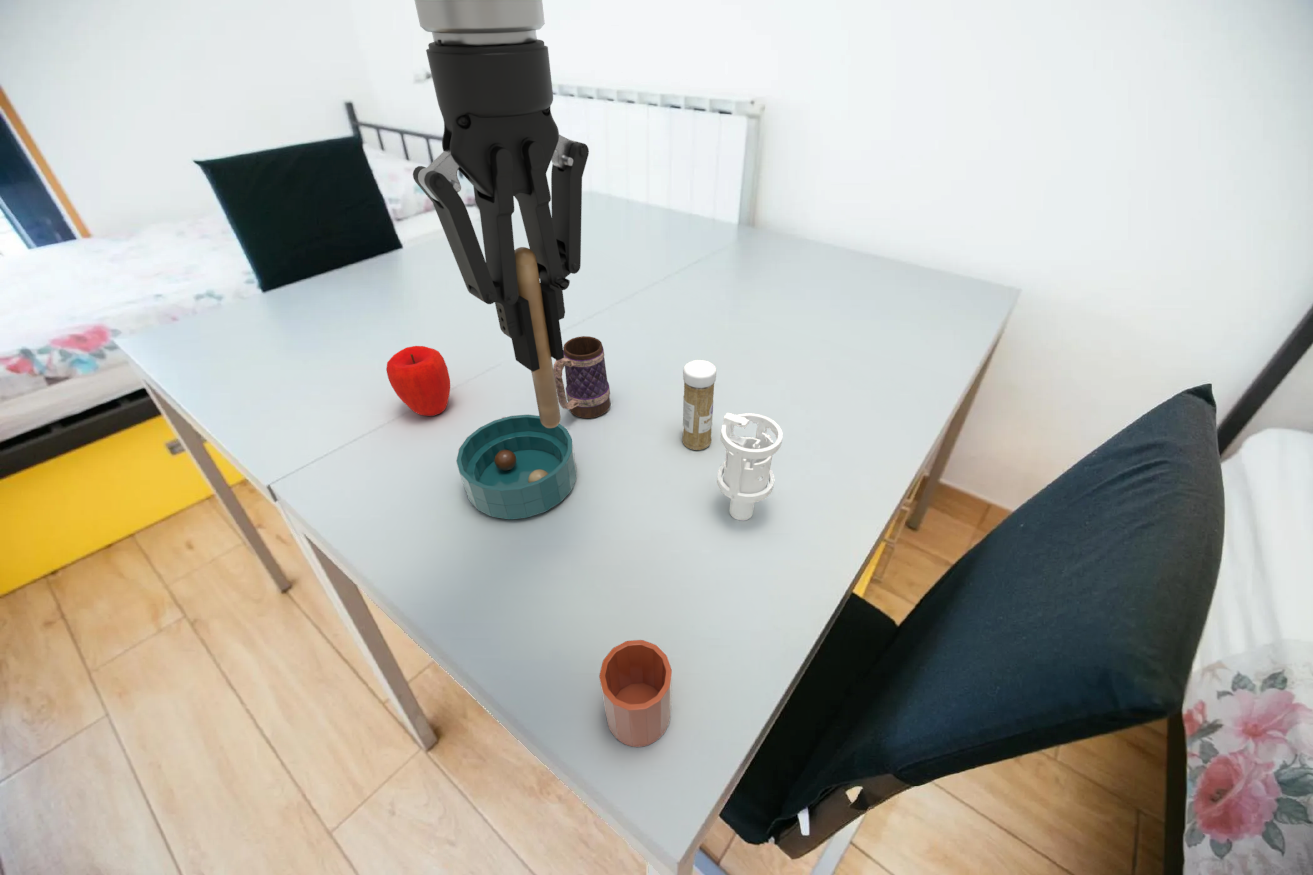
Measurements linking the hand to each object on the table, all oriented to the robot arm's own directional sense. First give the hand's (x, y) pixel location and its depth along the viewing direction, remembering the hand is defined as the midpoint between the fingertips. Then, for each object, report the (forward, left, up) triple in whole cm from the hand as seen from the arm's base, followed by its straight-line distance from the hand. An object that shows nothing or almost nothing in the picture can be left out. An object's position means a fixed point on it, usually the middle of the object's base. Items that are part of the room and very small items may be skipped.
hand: (539, 358), depth 49 cm
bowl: (+2, +15, -28) cm, 32 cm away
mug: (+18, +22, -28) cm, 40 cm away
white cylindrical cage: (+20, -10, -28) cm, 36 cm away
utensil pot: (-7, -20, -28) cm, 35 cm away
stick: (0, 0, -8) cm, 8 cm away
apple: (0, +40, -28) cm, 49 cm away
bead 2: (+3, +11, -26) cm, 28 cm away
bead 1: (+2, +18, -26) cm, 32 cm away
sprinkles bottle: (+26, +4, -28) cm, 39 cm away
